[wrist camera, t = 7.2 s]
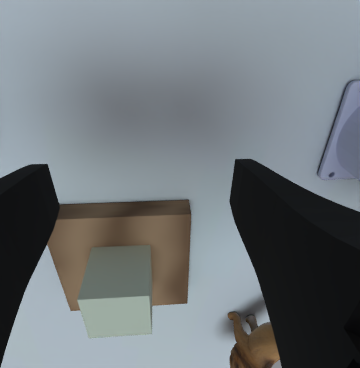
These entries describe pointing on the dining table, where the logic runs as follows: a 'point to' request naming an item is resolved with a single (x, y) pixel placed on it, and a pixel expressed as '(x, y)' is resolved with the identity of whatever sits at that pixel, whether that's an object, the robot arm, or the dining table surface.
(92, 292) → the block
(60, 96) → the dining table surface
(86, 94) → the dining table surface
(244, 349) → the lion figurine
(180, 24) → the dining table surface
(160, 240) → the base
